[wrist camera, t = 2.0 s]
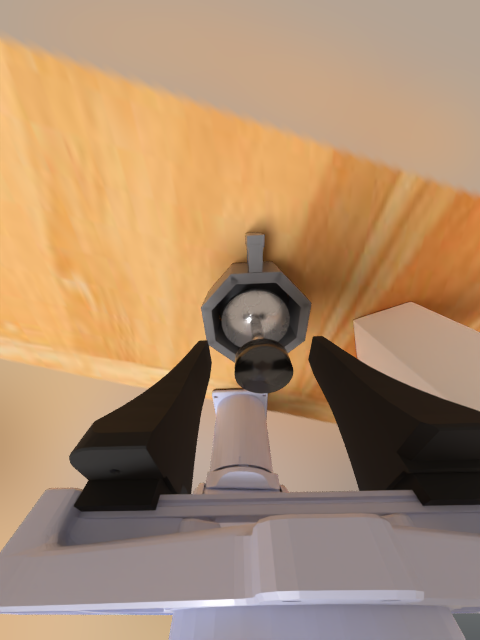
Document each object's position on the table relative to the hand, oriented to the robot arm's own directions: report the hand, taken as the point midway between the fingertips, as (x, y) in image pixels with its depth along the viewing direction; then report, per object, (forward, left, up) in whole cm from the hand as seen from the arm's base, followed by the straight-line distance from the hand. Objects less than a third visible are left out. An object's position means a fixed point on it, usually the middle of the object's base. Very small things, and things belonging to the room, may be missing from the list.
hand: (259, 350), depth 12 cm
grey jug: (+1, 0, -7) cm, 8 cm away
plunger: (0, 0, -4) cm, 4 cm away
